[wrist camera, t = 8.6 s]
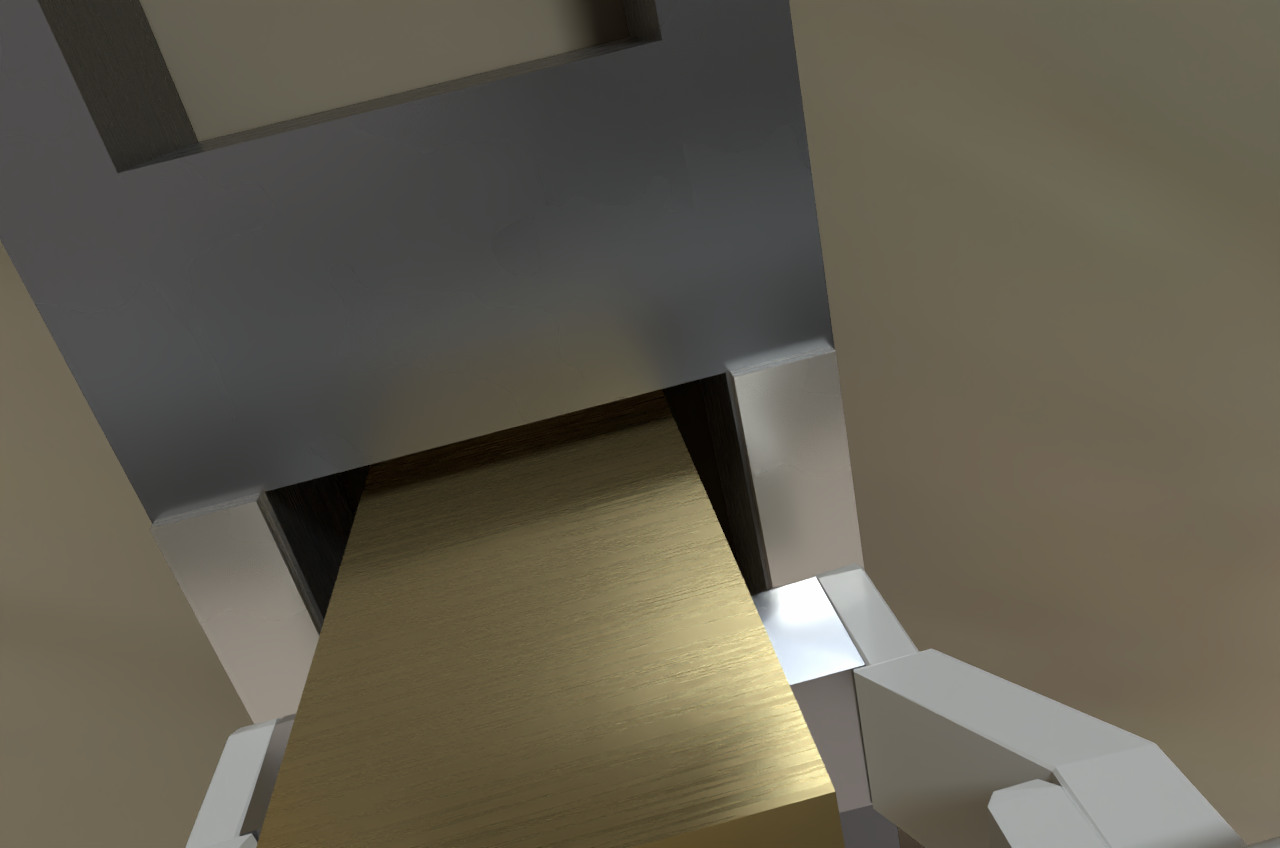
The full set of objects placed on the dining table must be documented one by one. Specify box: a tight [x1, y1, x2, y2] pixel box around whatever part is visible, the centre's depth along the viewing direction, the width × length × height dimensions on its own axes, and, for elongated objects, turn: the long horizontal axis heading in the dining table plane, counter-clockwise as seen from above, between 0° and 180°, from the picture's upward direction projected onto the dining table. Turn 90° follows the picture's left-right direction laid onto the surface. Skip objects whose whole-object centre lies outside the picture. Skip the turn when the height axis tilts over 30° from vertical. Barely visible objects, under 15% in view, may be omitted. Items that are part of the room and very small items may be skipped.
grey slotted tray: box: [0, 0, 900, 848], centre depth 12 cm, size 8×28×3 cm, turn 13°
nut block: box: [256, 389, 845, 848], centre depth 10 cm, size 4×4×7 cm
